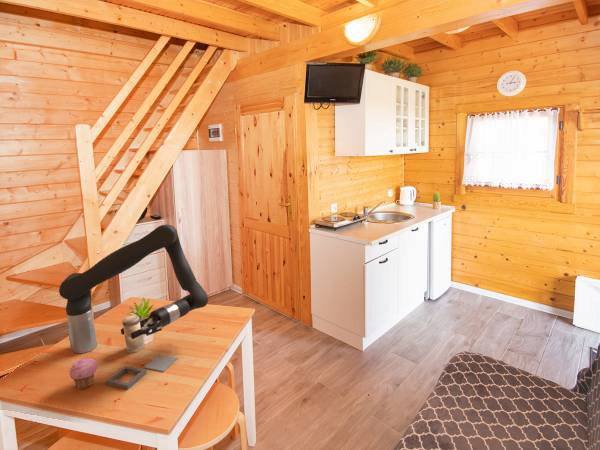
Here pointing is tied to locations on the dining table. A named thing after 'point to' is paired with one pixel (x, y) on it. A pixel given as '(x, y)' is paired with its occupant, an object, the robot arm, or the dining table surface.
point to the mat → (161, 363)
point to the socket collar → (112, 380)
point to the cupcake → (83, 372)
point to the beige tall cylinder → (131, 326)
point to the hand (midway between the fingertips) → (126, 334)
